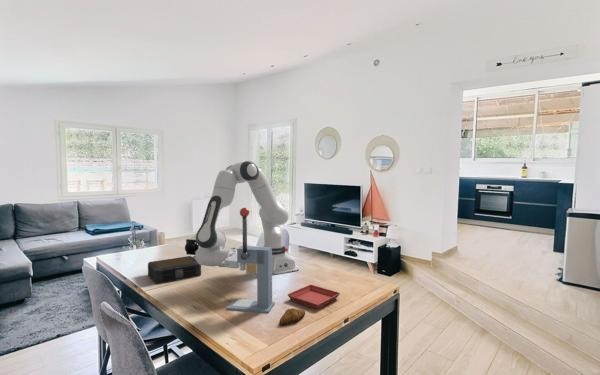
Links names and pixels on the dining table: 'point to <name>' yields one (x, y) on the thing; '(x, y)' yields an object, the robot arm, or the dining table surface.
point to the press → (264, 280)
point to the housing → (251, 268)
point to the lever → (244, 232)
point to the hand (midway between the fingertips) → (254, 259)
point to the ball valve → (191, 246)
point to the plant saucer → (313, 296)
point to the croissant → (291, 316)
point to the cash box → (173, 269)
